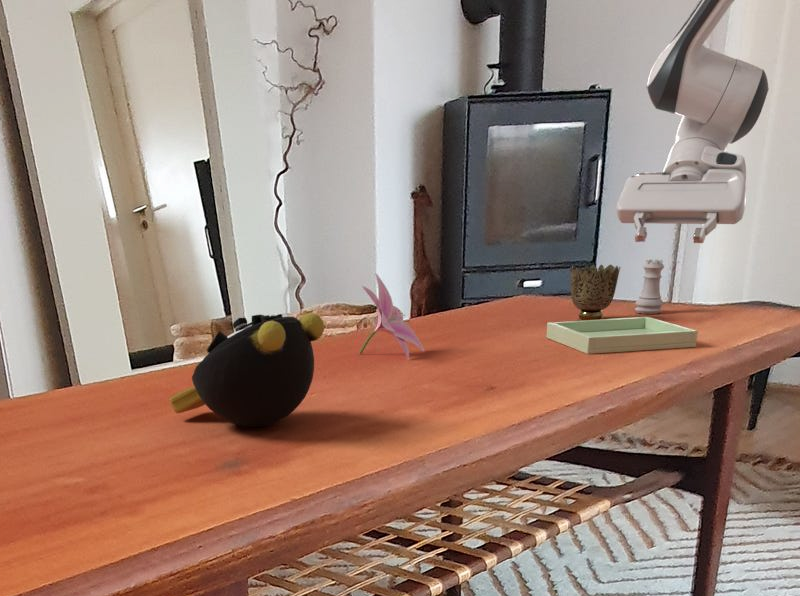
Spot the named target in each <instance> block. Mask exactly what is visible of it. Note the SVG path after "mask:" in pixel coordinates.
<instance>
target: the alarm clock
mask: <svg viewBox="0 0 800 596" xmlns="http://www.w3.org/2000/svg"><path fill="white" fill-rule="evenodd" d="M232 327H233V329H234V330H235V331H234V332H232V333H231V334H229V335H226V334H225V333H223V332H222V331H220V330H219V331H218V332H217V334H216V335H215V336H214V338H213V339H212V340H211V342H210V344H209V345H208V347H207V349H206V352H207V354H206V355H205V356H204V358H203V359H202V360H201V361H200V362H199V363H198V364H197V365H196V366H195V368H194V370H193V374H192V375H191V380H192V384H193V386H191V387H189V388H186V389H184V390H183V391H181V392H179V393H176V394H175V395H173V396H171V397H169V403H170V406H171V408H172V410H173V411H174V412H175V413H176V414H181V413H186V412H188V411H192V410H196V409H199V408H201V407H204V406H206V407H207V409H209V410H210V411H212V413H214V414H215V415H217V417H219V418H221V419H222V420H224V421H227V422H228V423H231V424H234V425H237V426H242V427H248V428H249V427H263V426H268V425H272V424H275V423H277V422H279V421H281V420H283V419H285V418H287V417H288V416H289V415H290V414H292V413H293V412H294V411H295V410H297V408H298V407H299V406H300V405H301V404H302V402H303V401H304V399H305V398H306V397H307V395H308V393H309V391H310V389H311V385H312V382H313V378H314V372H315V356H314V348H313V344H312V342H314V341H318V340H319V339H320V338H321V337H322V336H323V334H324V331H325V325H324V320H323V319H322V318H321V316H320V315H319V314H317V313H314V312H310V313H304V314H303V315H302V317H300V319H298V318H297V317H295V316H283V314H282V313H279V314H276V315H275V314H272V315H270V314H267V315H264V314H254V315H251V322H248V319H247V318H246V317H238V318H237V319H236V320H235V321H234V322H232Z"/></svg>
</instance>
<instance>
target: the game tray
mask: <svg viewBox="0 0 800 596" xmlns="http://www.w3.org/2000/svg"><path fill="white" fill-rule="evenodd" d="M698 332H699V330H696V329H692V328H689V327H686V326H682V325H678V324H676V323H671V322H667V321H664V320H661V319H657V318H654V317H650V316H639V317H638V316H636V317H619V318H603V319H602V318H601V319H600V320H584V321H583V320H569V321H552V322H547V324H546V336H545V337H546V339H549V340H551V341H553V342H555V343H556V342H557V343H559V344H561V345H563V346H565V347H566V346H567V347H569V348H571V349H574V350H577V351H579V352H581V353H584V354H586V355H593V354H594V355H595V354H608V353H609V354H610V353H622V352H623V353H627V352H639V351H641V352H642V351H654V350H655V351H656V350H670V349H685V348H686V349H687V348H696V347H697V340H698Z"/></svg>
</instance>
